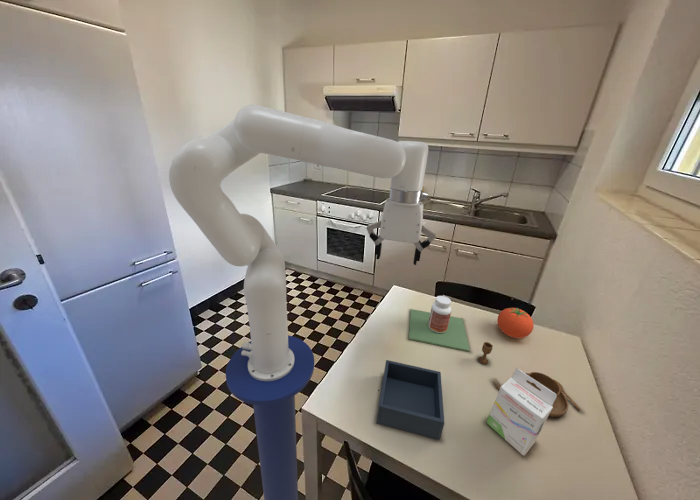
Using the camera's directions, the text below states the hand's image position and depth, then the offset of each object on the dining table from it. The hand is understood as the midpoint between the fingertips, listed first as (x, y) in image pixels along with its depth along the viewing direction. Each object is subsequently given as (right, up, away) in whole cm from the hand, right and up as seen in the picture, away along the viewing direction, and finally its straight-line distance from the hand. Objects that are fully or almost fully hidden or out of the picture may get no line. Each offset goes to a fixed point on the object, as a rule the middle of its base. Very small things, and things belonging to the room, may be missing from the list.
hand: (396, 260), depth 74 cm
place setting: (+34, -33, 0) cm, 48 cm away
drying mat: (+17, -24, +19) cm, 35 cm away
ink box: (+23, -38, -12) cm, 46 cm away
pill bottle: (+17, -23, +19) cm, 34 cm away
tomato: (+41, -26, +19) cm, 52 cm away
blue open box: (+2, -34, -7) cm, 35 cm away
